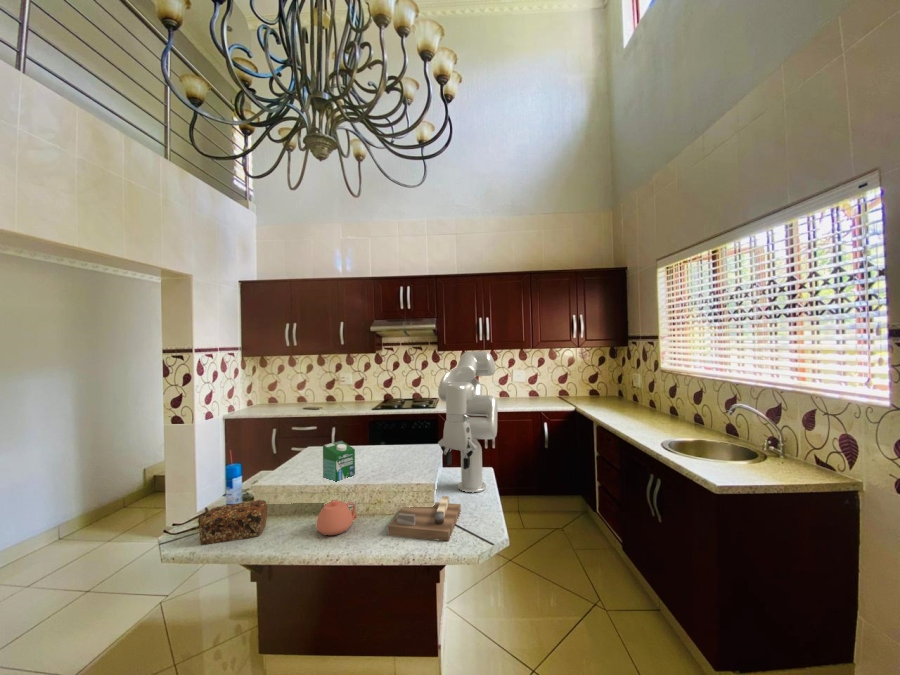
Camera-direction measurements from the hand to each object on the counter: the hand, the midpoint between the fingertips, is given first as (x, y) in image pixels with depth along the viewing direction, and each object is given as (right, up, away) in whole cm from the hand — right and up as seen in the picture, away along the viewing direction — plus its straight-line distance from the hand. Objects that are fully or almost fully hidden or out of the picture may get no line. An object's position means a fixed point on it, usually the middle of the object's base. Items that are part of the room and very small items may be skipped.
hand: (457, 466), depth 130 cm
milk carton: (-48, -21, +13) cm, 54 cm away
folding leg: (-6, -16, -1) cm, 17 cm away
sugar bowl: (-43, -21, -5) cm, 48 cm away
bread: (-78, -21, -7) cm, 81 cm away
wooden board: (-11, -20, -2) cm, 23 cm away
